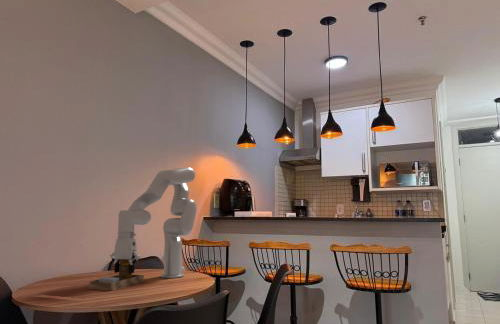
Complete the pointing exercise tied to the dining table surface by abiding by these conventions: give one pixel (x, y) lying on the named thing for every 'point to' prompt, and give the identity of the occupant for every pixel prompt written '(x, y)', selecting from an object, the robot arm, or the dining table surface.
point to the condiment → (124, 270)
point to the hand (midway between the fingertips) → (124, 272)
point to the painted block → (108, 279)
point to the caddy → (116, 283)
